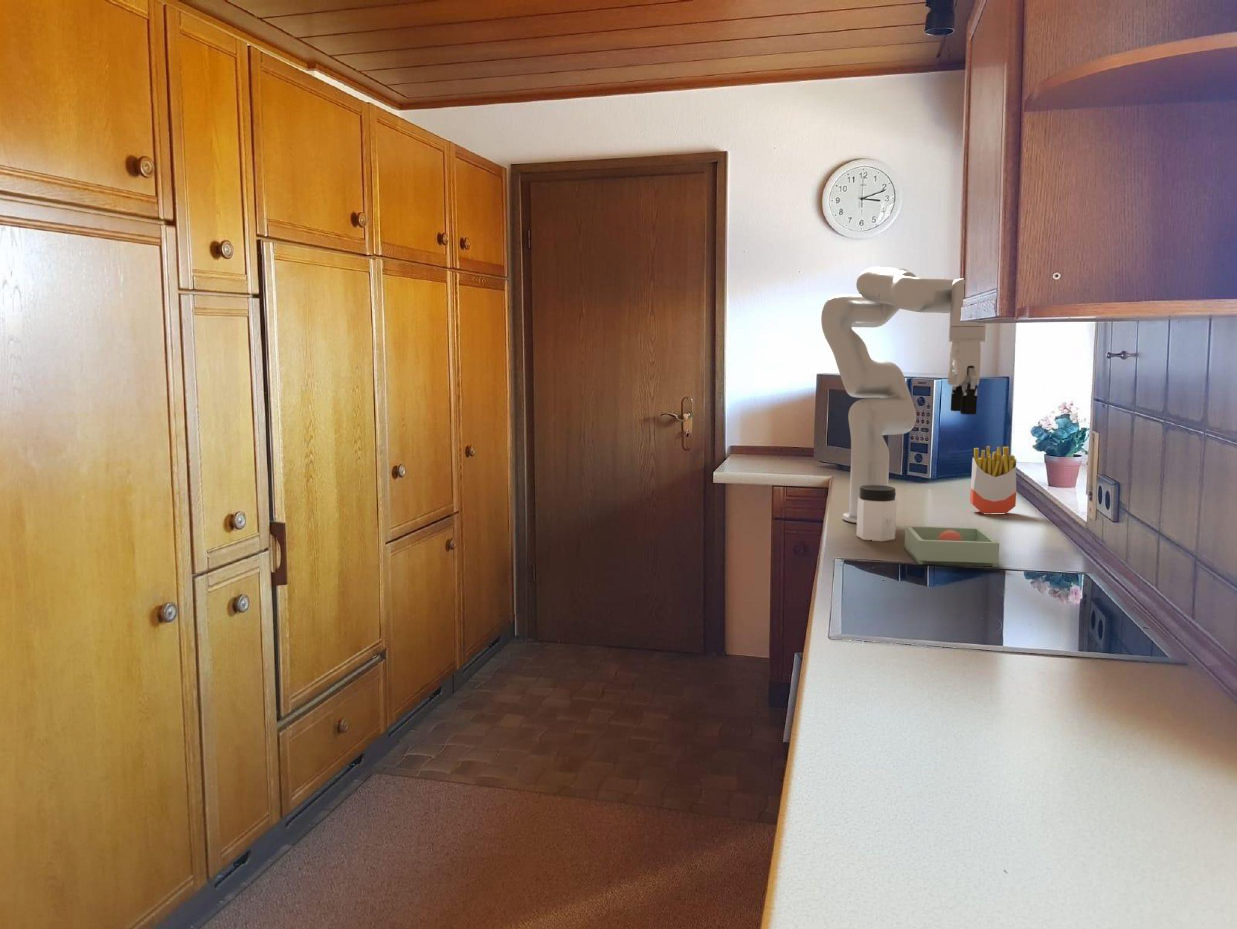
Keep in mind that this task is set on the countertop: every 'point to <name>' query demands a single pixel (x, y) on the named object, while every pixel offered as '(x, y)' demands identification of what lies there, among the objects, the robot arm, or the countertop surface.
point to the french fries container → (993, 481)
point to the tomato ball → (950, 536)
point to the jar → (876, 513)
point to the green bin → (951, 546)
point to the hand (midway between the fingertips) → (963, 412)
